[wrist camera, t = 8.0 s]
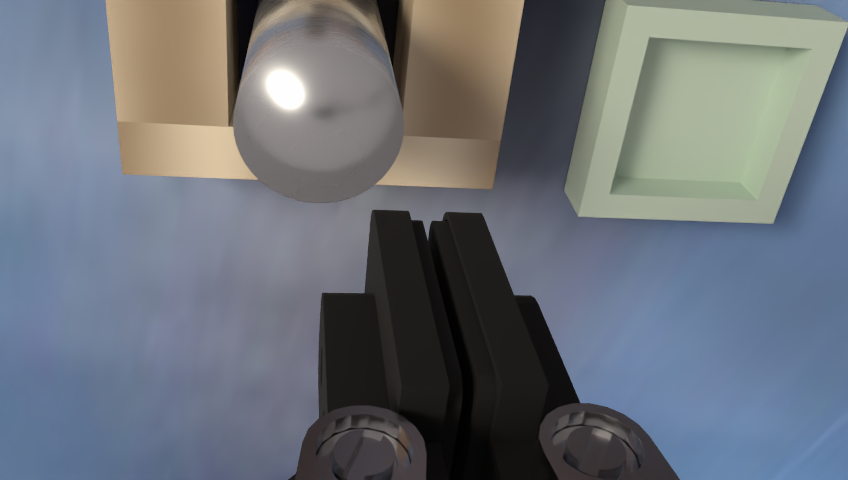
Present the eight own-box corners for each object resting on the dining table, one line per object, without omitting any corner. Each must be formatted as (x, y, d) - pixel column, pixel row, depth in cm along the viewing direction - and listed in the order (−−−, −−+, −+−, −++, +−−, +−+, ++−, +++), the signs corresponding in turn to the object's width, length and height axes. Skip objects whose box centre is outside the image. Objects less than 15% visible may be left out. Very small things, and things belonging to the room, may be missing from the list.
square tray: (817, 5, 29) (849, 22, 28) (748, 198, 34) (772, 223, 32) (608, -12, 28) (628, 5, 26) (563, 190, 32) (578, 216, 31)
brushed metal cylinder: (381, -46, 27) (411, 51, 18) (373, 70, 29) (396, 205, 20) (258, -56, 26) (231, 39, 18) (259, 63, 28) (234, 199, 20)
